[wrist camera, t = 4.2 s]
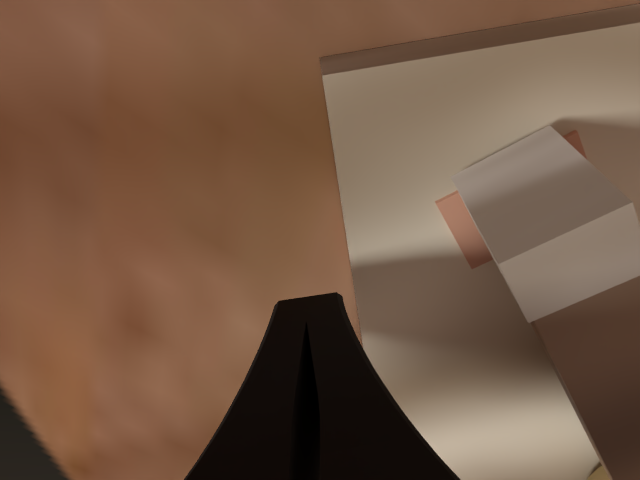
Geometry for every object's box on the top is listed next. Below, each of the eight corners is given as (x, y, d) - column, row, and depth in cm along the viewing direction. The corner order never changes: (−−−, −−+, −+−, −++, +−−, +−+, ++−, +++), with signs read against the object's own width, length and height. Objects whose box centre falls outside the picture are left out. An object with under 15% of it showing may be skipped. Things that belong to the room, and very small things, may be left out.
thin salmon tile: (575, 129, 10) (577, 131, 10) (601, 205, 11) (604, 207, 11) (434, 201, 11) (435, 203, 11) (470, 266, 12) (471, 269, 12)
